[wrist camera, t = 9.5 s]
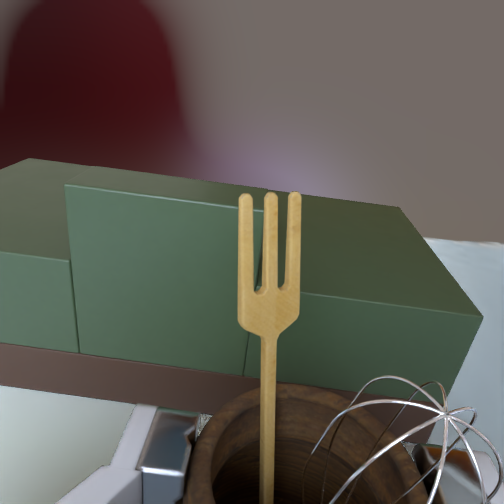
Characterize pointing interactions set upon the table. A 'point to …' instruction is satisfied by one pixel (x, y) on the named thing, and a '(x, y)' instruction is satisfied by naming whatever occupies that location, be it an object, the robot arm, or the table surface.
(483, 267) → the table surface
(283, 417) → the utensil holder
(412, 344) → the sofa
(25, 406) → the table surface
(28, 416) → the table surface
